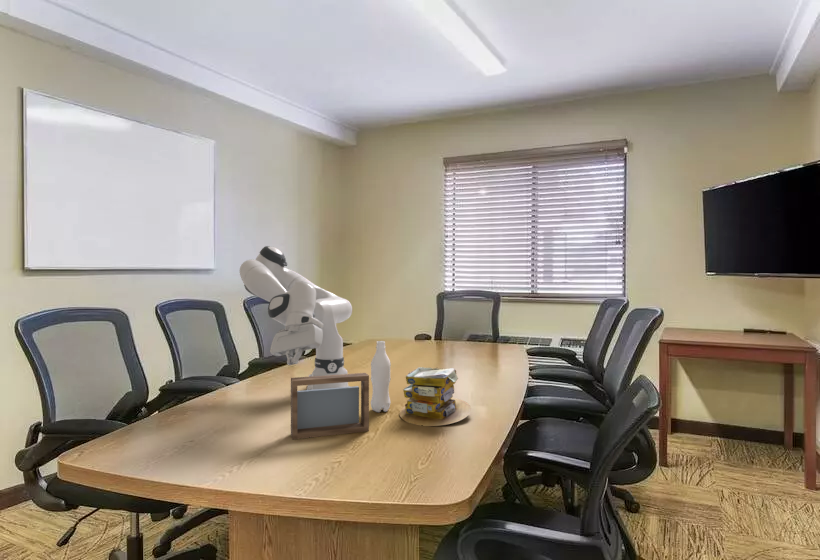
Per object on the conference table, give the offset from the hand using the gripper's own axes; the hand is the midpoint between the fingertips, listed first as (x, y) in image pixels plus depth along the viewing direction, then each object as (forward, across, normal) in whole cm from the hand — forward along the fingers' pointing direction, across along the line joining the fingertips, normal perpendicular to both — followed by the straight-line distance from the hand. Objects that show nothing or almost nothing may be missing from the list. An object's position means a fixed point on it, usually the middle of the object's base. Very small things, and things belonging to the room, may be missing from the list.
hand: (292, 363), depth 164 cm
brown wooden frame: (+21, +10, +11) cm, 26 cm away
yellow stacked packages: (+10, +30, +42) cm, 53 cm away
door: (+18, +8, +12) cm, 23 cm away
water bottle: (+7, +11, +36) cm, 39 cm away
